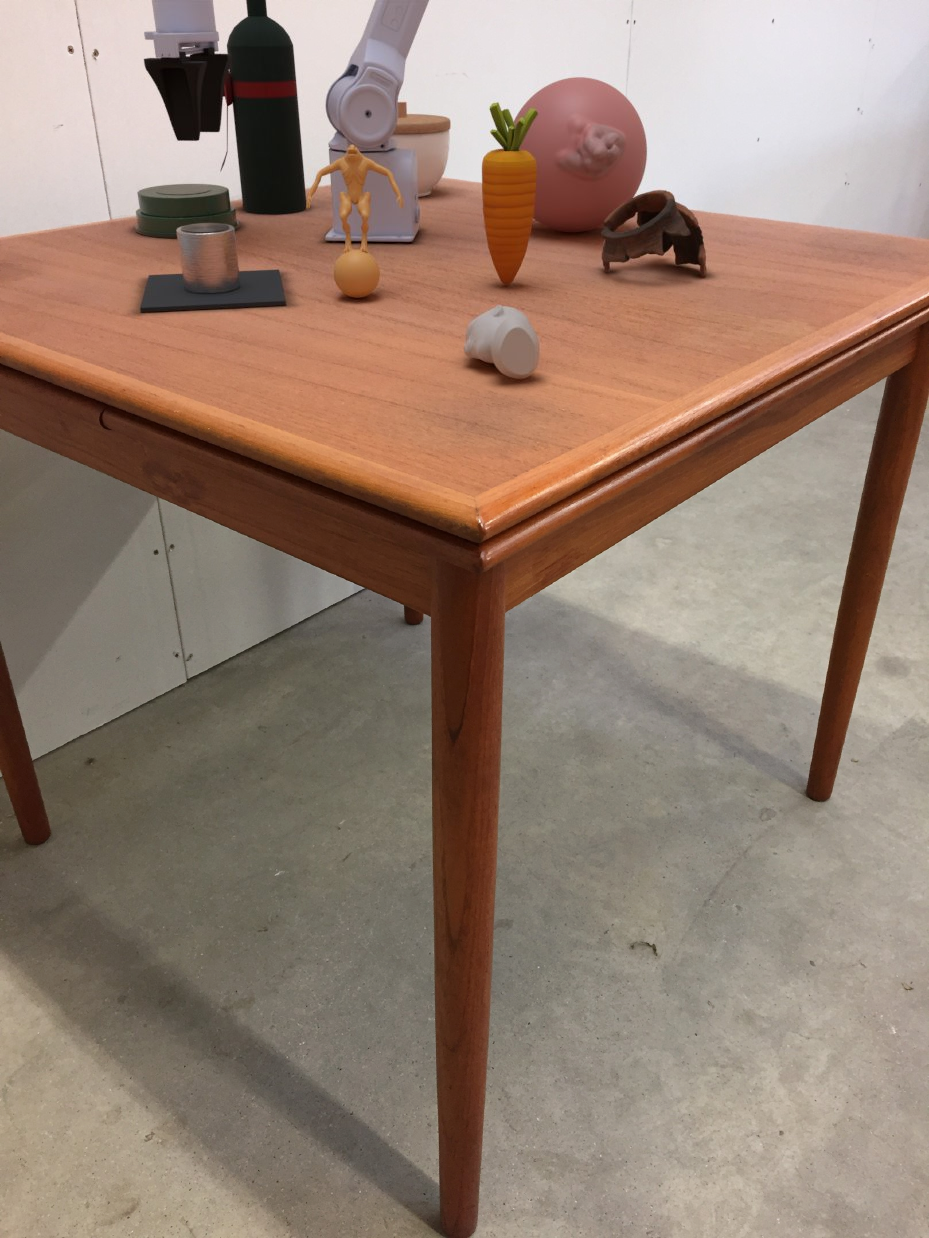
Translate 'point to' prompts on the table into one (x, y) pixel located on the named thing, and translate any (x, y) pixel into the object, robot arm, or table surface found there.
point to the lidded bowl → (424, 144)
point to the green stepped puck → (182, 208)
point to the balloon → (583, 152)
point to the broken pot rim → (654, 231)
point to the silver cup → (208, 258)
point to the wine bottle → (265, 114)
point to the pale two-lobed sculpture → (504, 341)
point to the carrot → (508, 193)
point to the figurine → (357, 266)
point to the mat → (253, 292)
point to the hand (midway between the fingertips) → (199, 136)
